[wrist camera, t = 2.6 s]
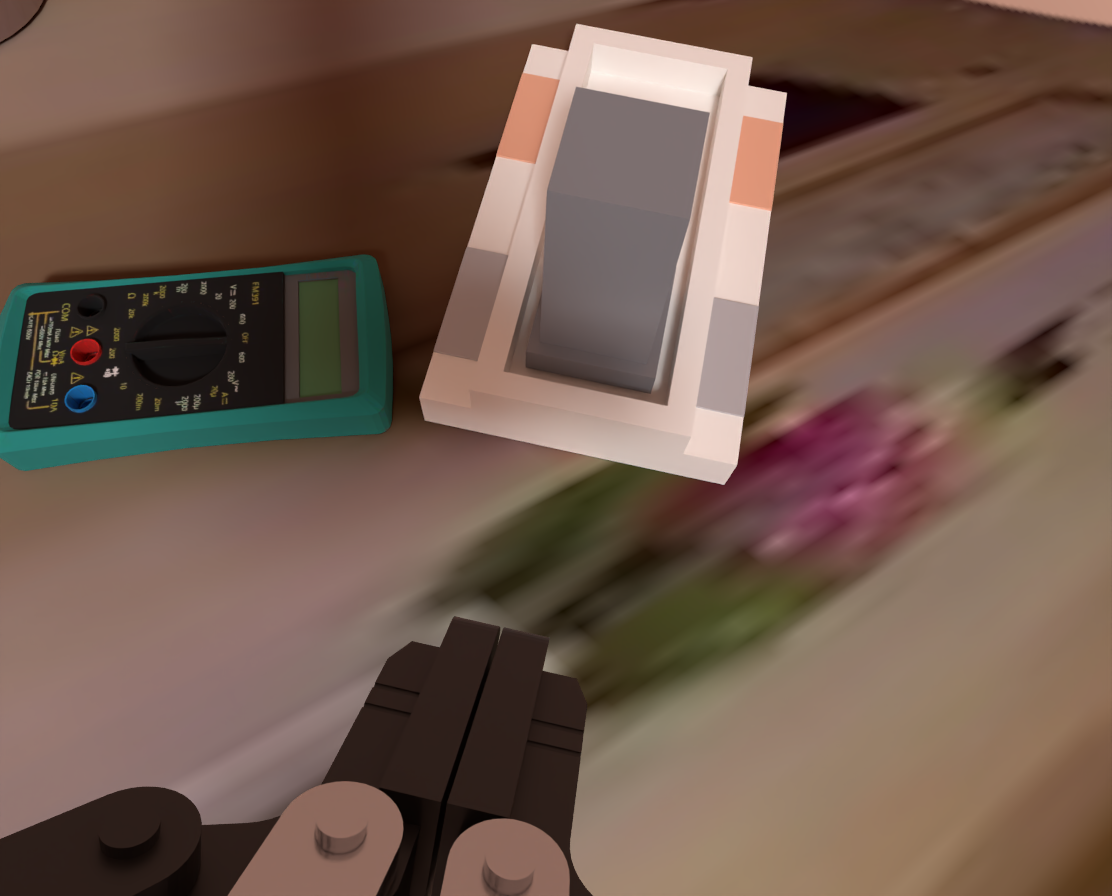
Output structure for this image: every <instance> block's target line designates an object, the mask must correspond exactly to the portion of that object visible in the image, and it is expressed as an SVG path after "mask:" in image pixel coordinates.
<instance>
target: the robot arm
mask: <svg viewBox="0 0 1112 896" xmlns="http://www.w3.org/2000/svg"><path fill="white" fill-rule="evenodd" d="M42 2H43V0H0V42H1V41H3V40H4V39H6V38H8V37H10V36H12V35H13V34H14V33H15V32H17V31H18V30H19V29H20V28H22V27H23V26H24V25H25V24H27V23H28V21H29V20H30V19H31V18H32V17H33V16H34V14H35V13H36V12H37V11H38V9H39V7H40V5H41V4H42ZM499 635H500V627H499V626H495V625H490V624H486V623H482V622H477V621H473V620H468V619H464V618H460V617H455V616H454V617H453V619H452V621H451V623H450V626H449V628H448V630H447V632H446V635H445V637H444V639H443V642H442V644H441V646H440V648H439V647H435V646H431V645H426V644H422V643H418V642H413V641H412V642H410V643H409V644H408V645H406V646H405V647H403V648H402V649H401V650H399V651H398V652H396V653H395V654H394V655H392V656H391V657H389V658H388V659H387V661H386V663H385V665H384V667H383V669H382V671H381V673H380V674H379V676H378V678H377V680H376V682H375V686H374V687H373V688H372V690H371V692H370V693H369V695H368V697H367V699H366V701H365V704H364V707H362V709H361V710H360V712H359V714H358V716H357V718H356V720H355V722H354V724H353V726H352V728H351V729H350V731H349V733H348V735H347V737H346V739H345V741H344V743H343V745H342V746H341V748H340V750H339V752H338V754H337V756H336V758H335V760H334V762H333V764H332V765H331V767H330V769H329V771H328V773H327V775H326V777H325V779H324V781H323V782H322V784H321V785H320V786H316V787H314V788H312V789H310V790H308V791H306V792H304V793H303V794H301V795H300V796H298V797H297V798H296V799H295V800H294V801H293V802H291V803H290V805H289V806H288V807H287V808H286V810H285V811H284V812H283V814H282V815H281V816H278V817H276V818H273V819H269V820H265V821H260V822H252V823H239V824H217V825H202V822H201V817H200V814H199V812H198V810H197V808H196V806H195V805H194V804H193V803H192V801H191V800H189V799H188V798H187V797H185V796H184V795H182V794H180V793H178V792H176V791H173V790H170V789H166V788H160V787H136V788H129V789H125V790H121V791H117V792H114V793H112V794H109V795H106V796H104V797H101V798H99V799H96V800H94V801H91V802H89V803H87V804H84V805H82V806H79V807H77V808H74V809H72V810H70V811H67V812H65V813H62V814H60V815H57V816H55V817H53V818H50V819H48V820H45V821H43V822H40V823H38V824H36V825H33V826H31V827H28V828H26V829H24V830H21V831H19V832H16V833H14V834H11V835H9V836H7V837H4V838H2V839H0V896H593V895H592V894H591V893H590V892H589V891H588V890H587V889H586V888H585V886H584V885H583V883H582V882H581V880H580V879H579V877H578V875H577V873H576V871H575V869H574V866H573V863H572V860H571V854H570V837H571V829H572V821H573V813H574V805H575V797H576V789H577V782H578V774H579V766H580V756H581V750H582V742H583V733H584V727H585V719H586V711H587V702H586V700H585V698H584V695H583V693H582V691H581V688H580V686H579V683H578V681H577V679H576V678H571V677H567V676H563V675H558V674H554V673H550V672H545V671H543V666H544V661H545V657H546V652H547V647H548V643H549V637H544V636H540V635H535V634H531V633H527V632H522V631H518V630H513V629H509V628H505V627H504V628H503V631H502V634H501V637H500V640H499ZM498 641H499V643H498Z"/></svg>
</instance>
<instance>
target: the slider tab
mask: <svg viewBox="0 0 1112 896" xmlns="http://www.w3.org/2000/svg"><path fill="white" fill-rule="evenodd" d="M709 115H710V113H709V112H704V111H699V110H694V109H689V108H684V107H679V106H673V105H668V104H663V103H658V102H653V101H648V100H642V99H637V98H632V97H627V96H622V95H617V94H612V93H606V92H601V91H596V90H591V89H586V88H581V87H576V89H575V92H574V96H573V99H572V103H571V106H570V110H569V113H568V117H567V121H566V124H565V128H564V131H563V135H562V138H561V142H560V146H559V149H558V153H557V156H556V160H555V163H554V167H553V170H552V174H551V178H550V181H549V185H548V188H547V198H546V219H545V240H544V260H543V281H542V292H541V296H540V300H539V304H538V307H537V311H536V315H535V319H534V322H533V326H532V330H531V334H530V337H529V341H528V345H527V349H526V368H531V369H535V370H540V371H545V372H550V373H554V374H559V375H564V376H568V377H573V378H578V379H583V380H587V381H592V382H597V383H602V384H606V385H611V386H616V387H621V388H625V389H630V390H635V391H640V392H644V393H649V394H651V391H652V388H653V385H654V382H655V379H656V373H657V368H658V363H659V358H660V352H661V347H662V342H663V336H664V331H665V326H666V320H667V315H668V310H669V304H670V299H671V294H672V288H673V283H674V278H675V272H676V265H677V262H678V258H679V255H680V252H681V248H682V245H683V242H684V238H685V235H686V232H687V228H688V225H689V221H690V217H691V212H692V207H693V201H694V196H695V190H696V185H697V180H698V174H699V169H700V163H701V158H702V152H703V147H704V142H705V136H706V131H707V125H708V120H709Z"/></svg>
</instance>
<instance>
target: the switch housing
mask: <svg viewBox="0 0 1112 896" xmlns="http://www.w3.org/2000/svg"><path fill="white" fill-rule="evenodd" d="M752 58H753V57H748V56H742V55H737V54H732V53H727V52H721V51H716V50H711V49H706V48H700V47H695V46H690V45H685V44H679V43H674V42H669V41H664V40H658V39H653V38H648V37H643V36H638V35H632V34H627V33H622V32H617V31H611V30H606V29H601V28H596V27H590V26H585V25H580V24H576V27H575V30H574V34H573V37H572V41H571V44H570V47H569V51H565V50H560V49H555V48H550V47H544V46H539V45H534V44H532V47H531V50H530V53H529V56H528V59H527V62H526V66H525V69H524V72H523V73H522V76H521V79H520V82H519V86H518V89H517V92H516V95H515V98H514V101H513V104H512V107H511V111H510V114H509V117H508V120H507V123H506V126H505V129H504V132H503V135H502V139H501V142H500V145H499V148H498V151H497V154H496V159H495V162H494V165H493V168H492V172H491V175H490V178H489V181H488V184H487V187H486V190H485V193H484V196H483V200H482V203H481V206H480V209H479V212H478V215H477V218H476V221H475V225H474V228H473V231H472V234H471V237H470V240H469V243H468V246H467V248H466V251H465V254H464V257H463V260H462V263H461V266H460V269H459V272H458V276H457V279H456V282H455V285H454V288H453V291H452V294H451V297H450V300H449V304H448V307H447V310H446V313H445V316H444V319H443V322H442V325H441V328H440V332H439V335H438V338H437V341H436V344H435V347H434V350H433V351H434V352H433V356H432V359H431V362H430V365H429V368H428V371H427V374H426V377H425V380H424V384H423V387H422V390H421V393H420V396H419V399H420V403H421V407H422V411H423V415H424V419H425V421H430V422H434V423H439V424H444V425H448V426H453V427H458V428H462V429H467V430H472V431H476V432H481V433H485V434H490V435H495V436H499V437H504V438H509V439H513V440H518V441H523V442H527V443H532V444H537V445H541V446H546V447H551V448H555V449H560V450H565V451H569V452H574V453H578V454H583V455H588V456H592V457H597V458H602V459H606V460H611V461H616V462H620V463H625V464H630V465H634V466H639V467H644V468H648V469H653V470H657V471H662V472H667V473H671V474H676V475H681V476H685V477H690V478H695V479H699V480H704V481H709V482H713V483H718V484H723V485H724V484H725V483H726V481H727V480H728V478H729V477H730V475H731V474H732V472H733V471H734V469H735V468H736V466H737V462H738V454H739V447H740V439H741V432H742V424H743V417H744V413H745V406H746V398H747V391H748V383H749V376H750V368H751V361H752V353H753V346H754V338H755V331H756V323H757V316H758V308H759V306H758V305H759V297H760V290H761V282H762V275H763V267H764V260H765V252H766V245H767V237H768V230H769V223H770V215H771V210H772V204H773V196H774V189H775V181H776V174H777V166H778V159H779V151H780V144H781V136H782V129H783V118H784V110H785V103H786V96H787V93H784V92H778V91H773V90H768V89H763V88H758V87H752V86H748V83H749V77H750V70H751V64H752ZM576 87H581V88H586V89H591V90H596V91H601V92H606V93H612V94H617V95H622V96H627V97H632V98H637V99H642V100H648V101H653V102H658V103H663V104H668V105H673V106H679V107H684V108H689V109H694V110H699V111H704V112H709V113H710V115H709V120H708V125H707V131H706V136H705V142H704V147H703V152H702V158H701V163H700V169H699V174H698V180H697V185H696V190H695V196H694V201H693V207H692V212H691V217H690V221H689V225H688V228H687V232H686V235H685V238H684V242H683V245H682V248H681V252H680V255H679V258H678V262H677V265H676V272H675V278H674V283H673V288H672V294H671V299H670V304H669V310H668V315H667V320H666V326H665V331H664V336H663V342H662V347H661V352H660V358H659V363H658V368H657V373H656V379H655V382H654V385H653V388H652V391H651V394H649V393H644V392H640V391H635V390H630V389H625V388H621V387H616V386H611V385H606V384H602V383H597V382H592V381H587V380H583V379H578V378H573V377H568V376H564V375H559V374H554V373H550V372H545V371H540V370H535V369H531V368H526V349H527V345H528V341H529V337H530V334H531V330H532V326H533V322H534V319H535V315H536V311H537V307H538V304H539V300H540V296H541V292H542V281H543V260H544V240H545V219H546V198H547V188H548V185H549V181H550V178H551V174H552V170H553V167H554V163H555V160H556V156H557V153H558V149H559V146H560V142H561V138H562V135H563V131H564V128H565V124H566V121H567V117H568V113H569V110H570V106H571V103H572V99H573V96H574V92H575V89H576Z"/></svg>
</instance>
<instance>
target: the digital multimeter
mask: <svg viewBox="0 0 1112 896" xmlns="http://www.w3.org/2000/svg"><path fill="white" fill-rule="evenodd" d="M201 303H202V304H201ZM140 380H141V381H140ZM154 387H155V388H154ZM158 388H159V389H158ZM392 402H393V358H392V342H391V332H390V325H389V317H388V310H387V304H386V297H385V291H384V286H383V283H382V279H381V275H380V272H379V268H378V264H377V262H376V259H375V258H374V257H372V256H371V255H364V254H363V255H356V256H348V257H340V258H332V259H324V260H316V261H309V262H301V263H293V264H285V265H277V266H269V267H261V268H250V269H239V270H228V271H217V272H206V273H195V274H184V275H173V276H159V277H144V278H129V279H115V280H100V281H76V282H49V283H25V284H21V285H18V286H17V287H15V288H14V289H13V290H12V291H11V293H10V295H9V297H8V300H7V302H6V304H5V306H4V308H3V311H2V313H1V315H0V458H1V459H3V460H4V461H6V462H7V463H9V464H11V465H12V466H14V467H15V468H17V469H18V470H24V471H28V470H34V469H41V468H47V467H54V466H60V465H67V464H73V463H80V462H86V461H92V460H99V459H107V458H114V457H122V456H130V455H137V454H145V453H152V452H160V451H168V450H175V449H183V448H192V447H203V446H214V445H225V444H236V443H247V442H258V441H269V440H282V439H299V438H316V437H333V436H350V435H367V434H380V433H383V432H386V431H387V430H388V428H389V427H390V426H391V422H392ZM273 404H276V405H273ZM263 405H266V406H263ZM253 406H256V407H253ZM243 407H246V408H243ZM233 408H236V409H233ZM223 409H227V410H223ZM213 410H217V411H213ZM203 411H207V412H203ZM193 412H197V413H193ZM183 413H187V414H183ZM173 414H177V415H173ZM163 415H167V416H163ZM153 416H157V417H153ZM143 417H147V418H143ZM133 418H137V419H133ZM123 419H127V420H123ZM113 420H117V421H113ZM83 423H87V424H83ZM73 424H76V425H73ZM63 425H66V426H63ZM53 426H56V427H53ZM43 427H46V428H43ZM33 428H35V429H33ZM23 429H25V430H23Z"/></svg>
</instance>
